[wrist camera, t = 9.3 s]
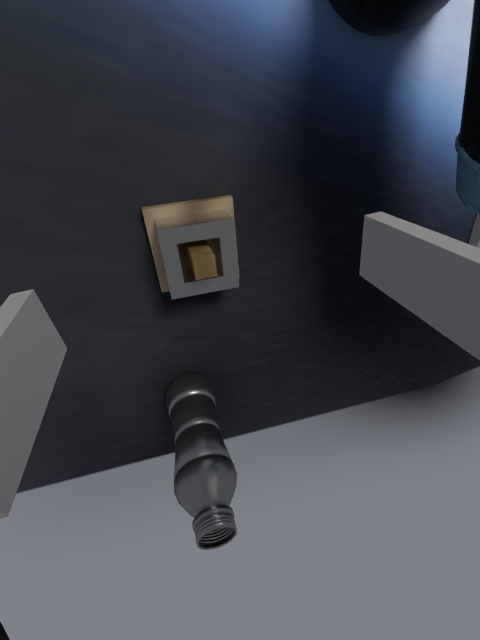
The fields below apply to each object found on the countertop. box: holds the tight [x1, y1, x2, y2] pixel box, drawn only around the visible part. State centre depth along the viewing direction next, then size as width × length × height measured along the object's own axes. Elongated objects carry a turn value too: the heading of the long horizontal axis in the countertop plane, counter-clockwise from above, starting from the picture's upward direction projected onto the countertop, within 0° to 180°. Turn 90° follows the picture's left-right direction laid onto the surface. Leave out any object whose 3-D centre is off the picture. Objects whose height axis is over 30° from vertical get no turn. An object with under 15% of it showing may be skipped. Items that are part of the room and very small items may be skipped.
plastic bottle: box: [166, 373, 237, 550], centre depth 36 cm, size 6×7×20 cm
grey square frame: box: [155, 209, 239, 299], centre depth 32 cm, size 7×7×4 cm
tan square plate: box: [142, 195, 239, 292], centre depth 31 cm, size 9×9×7 cm
